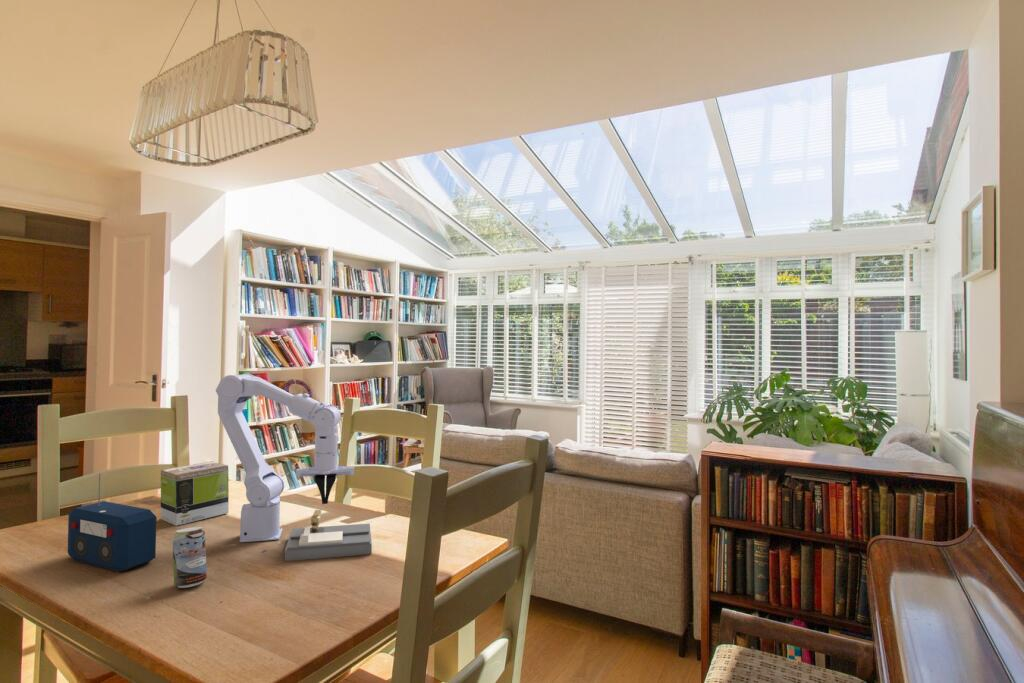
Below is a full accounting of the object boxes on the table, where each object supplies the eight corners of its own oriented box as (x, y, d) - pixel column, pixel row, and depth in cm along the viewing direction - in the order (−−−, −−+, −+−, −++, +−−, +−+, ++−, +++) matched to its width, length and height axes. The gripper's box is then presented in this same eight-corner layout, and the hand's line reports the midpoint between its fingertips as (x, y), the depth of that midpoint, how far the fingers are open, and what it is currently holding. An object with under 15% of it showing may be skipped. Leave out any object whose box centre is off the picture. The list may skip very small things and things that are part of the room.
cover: (298, 547, 134) (299, 536, 134) (301, 538, 140) (301, 527, 140) (342, 543, 137) (342, 533, 137) (342, 535, 143) (342, 524, 143)
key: (318, 531, 146) (318, 517, 146) (310, 531, 145) (310, 517, 145) (321, 523, 152) (322, 509, 152) (314, 523, 152) (314, 510, 152)
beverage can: (183, 594, 114) (184, 536, 114) (164, 585, 118) (165, 529, 118) (213, 583, 120) (214, 527, 120) (194, 575, 124) (195, 521, 124)
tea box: (212, 507, 173) (213, 460, 173) (229, 514, 167) (230, 464, 167) (159, 519, 161) (160, 468, 161) (175, 527, 155) (176, 473, 155)
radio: (60, 560, 130) (62, 475, 130) (100, 548, 138) (102, 467, 139) (121, 576, 123) (123, 485, 123) (159, 562, 131) (161, 476, 131)
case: (284, 561, 133) (284, 548, 133) (291, 538, 148) (291, 526, 148) (371, 554, 138) (371, 541, 138) (369, 532, 154) (369, 521, 154)
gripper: (295, 455, 143) (294, 508, 143) (354, 453, 147) (353, 505, 147) (298, 450, 150) (296, 501, 150) (354, 448, 154) (353, 498, 154)
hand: (324, 502), depth 149 cm, fingers closed
